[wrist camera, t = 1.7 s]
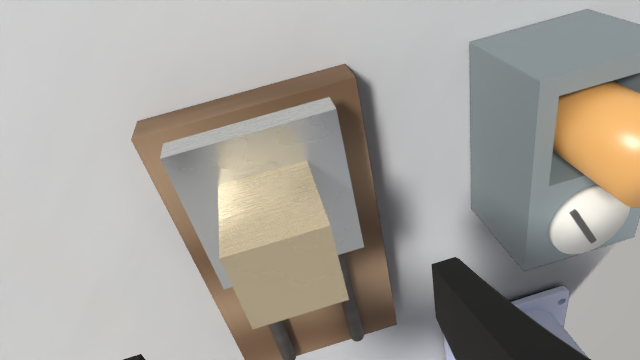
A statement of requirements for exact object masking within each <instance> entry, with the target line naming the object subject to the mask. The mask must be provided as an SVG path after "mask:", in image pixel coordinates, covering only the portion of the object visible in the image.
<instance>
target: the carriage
mask: <svg viewBox="0 0 640 360" xmlns="http://www.w3.org/2000/svg"><path fill="white" fill-rule="evenodd" d="M160 160H161V162H162V164H163V166H164V168H165V170H166V172H167V174H168V176H169V178H170V180H171V182H172V184H173V186H174V188H175V190H176V192H177V194H178V196H179V199H180V201H181V203H182V205H183V207H184V209H185V211H186V213H187V215H188V217H189V219H190V221H191V223H192V225H193V227H194V229H195V231H196V233H197V235H198V237H199V239H200V242H201V244H202V246H203V248H204V250H205V252H206V254H207V256H208V258H209V260H210V262H211V264H212V266H213V268H214V270H215V272H216V274H217V276H218V278H219V280H220V282H221V285H222V287H223V289H227V288H231V287H233V289H234V291H235V293H236V295H237V297H238V299H239V301H240V304H241V306H242V308H243V310H244V312H245V314H246V316H247V318H248V321H249V323H250V325H251V327H252V329H256V328H259V327H262V326H266V325H269V324H272V323H275V322H279V321H282V320H285V319H288V318H292V317H295V316H298V315H301V314H305V313H308V312H311V311H314V310H317V309H321V308H324V307H327V306H330V305H334V304H337V303H340V302H343V301H347V300H349V297H348V294H347V290H346V286H345V282H344V278H343V274H342V270H341V266H340V262H339V258H338V255H340V254H343V253H346V252H350V251H353V250H356V249H360V248H363V247H364V244H363V239H362V234H361V229H360V224H359V219H358V214H357V209H356V204H355V199H354V194H353V189H352V184H351V179H350V174H349V169H348V164H347V159H346V154H345V149H344V144H343V139H342V134H341V129H340V125H339V120H338V115H337V110H336V107H335V106H334V104H333V102H332V101H331V99H330V97H327V98H323V99H320V100H316V101H313V102H309V103H306V104H302V105H299V106H295V107H291V108H288V109H284V110H281V111H277V112H274V113H270V114H266V115H263V116H259V117H256V118H252V119H249V120H245V121H242V122H238V123H234V124H231V125H227V126H224V127H220V128H217V129H213V130H210V131H206V132H202V133H199V134H195V135H192V136H188V137H185V138H181V139H178V140H174V141H170V142H167V143H163V146H162V151H161V156H160Z"/></svg>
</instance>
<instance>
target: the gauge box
mask: <svg viewBox="0 0 640 360" xmlns="http://www.w3.org/2000/svg"><path fill="white" fill-rule="evenodd" d="M469 52H470V148H471V209H472V210H473V211H474V213H475V214H476V215H477V216H478V217H479V219H480V220H481V221H482V222H483V223H484V225H485V226H486V227H487V228H488V229H489V231H490V232H491V233H492V234H493V235H494V237H495V238H496V239H497V240H498V241H499V243H500V244H501V245H502V246H503V247H504V248H505V250H506V251H507V252H508V253H509V254H510V256H511V257H512V258H513V259H514V260H515V262H516V263H517V264H518V265H519V266H520V268H521V269H522V270H523V271H527V270H531V269H534V268H537V267H540V266H543V265H546V264H550V263H553V262H556V261H559V260H562V259H566V258H569V257H572V256H575V255H578V254H582V253H585V252H588V251H591V250H594V249H598V248H601V247H604V246H607V245H610V244H614V243H617V242H620V241H623V240H626V239H629V238H633V237H634V236H635V233H636V229H637V226H638V222H639V218H640V208H632V207H629V206H627V205H625V204H623V203H622V202H621V201H619V200H618V199H617V198H615V197H614V196H613V195H611V194H610V193H608V192H607V191H606V190H604V189H603V188H602V187H600V186H599V185H598V184H596V183H595V182H594V181H592V180H591V179H590V178H588V177H587V176H586V175H584V174H583V173H581V172H580V171H579V170H577V169H576V168H575V167H573V166H572V165H571V164H569V163H568V162H567V161H565V160H564V159H563V158H561V157H560V156H558V155H557V154H556V153H554V152H553V145H554V136H555V127H556V119H557V110H558V101H559V96H561V95H565V94H568V93H572V92H575V91H578V90H582V89H585V88H589V87H592V86H596V85H599V84H603V83H606V82H610V81H613V82H616V83H618V84H620V85H622V86H624V87H627V88H629V89H631V90H633V91H635V92H638V93H640V24H636V23H633V22H630V21H626V20H623V19H619V18H616V17H613V16H609V15H606V14H602V13H599V12H595V11H592V10H589V9H586V10H583V11H579V12H576V13H572V14H568V15H565V16H561V17H558V18H554V19H551V20H547V21H543V22H540V23H536V24H533V25H529V26H525V27H522V28H518V29H515V30H511V31H507V32H504V33H500V34H497V35H493V36H490V37H486V38H482V39H479V40H475V41H472V42H469Z"/></svg>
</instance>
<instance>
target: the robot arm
mask: <svg viewBox="0 0 640 360" xmlns="http://www.w3.org/2000/svg"><path fill="white" fill-rule="evenodd" d="M432 275H433V287H434V299H435V311H436V318H437V321H438V323H439V325H440V327H441V330H442V332H443V335H444V349H445V360H591V359H589V358H588V357H587V356H586V355H585V353H584V352H583V351H582V350H581V349H580V348H579V346H578V345H577V344H576V342H575V341H574V340H573V339H572V338H571V336H570V335H569V334H568V333H567V331H566V330H565V329H564V322H565V316H566V311H567V306H568V300H569V295H570V291H569V290H568V289H567V288H566V287H564V286H560V287H556V288H553V289H550V290H547V291H544V292H540V293H537V294H534V295H531V296H528V297H525V298H522V299H518V300H515V301H512V302H510V301H508V300H507V299H506V298H505V297H503V296H502V295H501V294H500V293H498V292H497V291H496V290H495V289H494V288H492V287H491V286H490V285H489V284H487V283H486V282H485V281H484V280H483V279H482V278H480V277H479V276H478V275H477V274H476V273H475V272H473V271H472V270H471V269H470V268H469V267H468V266H467V265H465V264H464V263H463V262H462V261H461V260H460V259H458V258H456V257H454V258H451V259H447V260H444V261H441V262H438V263H434V264H432ZM124 360H145V359H144V357H143V356H142V355H141V354H140V355H137V356H133V357H130V358H127V359H124Z"/></svg>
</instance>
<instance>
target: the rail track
mask: <svg viewBox="0 0 640 360" xmlns="http://www.w3.org/2000/svg"><path fill="white" fill-rule="evenodd" d="M327 97H330V99H331V101H332V102H333V104H334V106H335V107H336V110H337V115H338V120H339V125H340V129H341V134H342V139H343V144H344V149H345V154H346V159H347V164H348V169H349V174H350V179H351V184H352V189H353V194H354V199H355V204H356V209H357V214H358V219H359V224H360V229H361V234H362V239H363V244H364V247H363V248H360V249H356V250H353V251H350V252H346V253H343V254H340V255H338V258H339V262H340V266H341V270H342V274H343V278H344V282H345V286H346V290H347V294H348V297H349V300H347V301H343V302H340V303H337V304H334V305H330V306H327V307H324V308H321V309H317V310H314V311H311V312H308V313H305V314H301V315H298V316H295V317H292V318H288V319H285V320H282V321H279V322H275V323H272V324H269V325H266V326H262V327H259V328H256V329H252V327H251V325H250V323H249V321H248V318H247V316H246V314H245V312H244V310H243V308H242V306H241V304H240V301H239V299H238V297H237V295H236V293H235V291H234V289H233V287H231V288H227V289H223V287H222V285H221V282H220V280H219V278H218V276H217V274H216V272H215V270H214V268H213V266H212V264H211V262H210V260H209V258H208V256H207V254H206V252H205V250H204V248H203V246H202V244H201V242H200V239H199V237H198V235H197V233H196V231H195V229H194V227H193V225H192V223H191V221H190V219H189V217H188V215H187V213H186V211H185V209H184V207H183V205H182V203H181V201H180V199H179V196H178V194H177V192H176V190H175V188H174V186H173V184H172V182H171V180H170V178H169V176H168V174H167V172H166V170H165V168H164V166H163V164H162V162H161V160H160V156H161V151H162V146H163V143H167V142H170V141H174V140H178V139H181V138H185V137H188V136H192V135H195V134H199V133H202V132H206V131H210V130H213V129H217V128H220V127H224V126H227V125H231V124H234V123H238V122H242V121H245V120H249V119H252V118H256V117H259V116H263V115H266V114H270V113H274V112H277V111H281V110H284V109H288V108H291V107H295V106H299V105H302V104H306V103H309V102H313V101H316V100H320V99H323V98H327ZM131 140H132V142H133V144H134V146H135V148H136V150H137V152H138V154H139V156H140V158H141V160H142V162H143V164H144V165H145V167H146V169H147V171H148V173H149V175H150V177H151V179H152V181H153V183H154V185H155V187H156V189H157V191H158V192H159V194H160V196H161V198H162V200H163V202H164V204H165V206H166V208H167V210H168V212H169V214H170V216H171V218H172V220H173V221H174V223H175V225H176V227H177V229H178V231H179V233H180V235H181V237H182V239H183V241H184V243H185V245H186V247H187V249H188V250H189V252H190V254H191V256H192V258H193V260H194V262H195V264H196V266H197V268H198V270H199V272H200V274H201V276H202V277H203V279H204V281H205V283H206V285H207V287H208V289H209V291H210V293H211V295H212V297H213V299H214V301H215V303H216V305H217V306H218V308H219V310H220V312H221V314H222V316H223V318H224V320H225V322H226V324H227V326H228V328H229V330H230V332H231V333H232V335H233V337H234V339H235V341H236V343H237V345H238V347H239V349H240V351H241V353H242V355H243V357H244V359H245V360H295V358H296V356H298V355H301V354H304V353H307V352H310V351H314V350H317V349H320V348H323V347H326V346H330V345H333V344H336V343H339V342H342V341H345V340H349V339H352V340H354V341H361V340H362V339H363V337H364V335H365V334H368V333H371V332H374V331H377V330H380V329H384V328H387V327H390V326H393V325H396V324H397V322H396V316H395V310H394V304H393V298H392V292H391V286H390V280H389V274H388V268H387V262H386V256H385V250H384V244H383V238H382V232H381V226H380V220H379V214H378V208H377V202H376V196H375V190H374V184H373V178H372V172H371V166H370V159H369V153H368V147H367V141H366V135H365V129H364V123H363V117H362V111H361V105H360V99H359V93H358V87H357V81H356V77H355V75H354V74H353V73H352V72H351V70H350V69H349V68H348V67H347V66H346V64H343V65H339V66H335V67H332V68H328V69H325V70H321V71H317V72H314V73H310V74H307V75H303V76H299V77H296V78H292V79H288V80H285V81H281V82H278V83H274V84H270V85H267V86H263V87H260V88H256V89H252V90H249V91H245V92H242V93H238V94H234V95H231V96H227V97H224V98H220V99H216V100H213V101H209V102H205V103H202V104H198V105H195V106H191V107H187V108H184V109H180V110H177V111H173V112H169V113H166V114H162V115H159V116H155V117H151V118H148V119H144V120H141V121H137V124H136V127H135V130H134V133H133V136H132V139H131Z"/></svg>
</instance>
